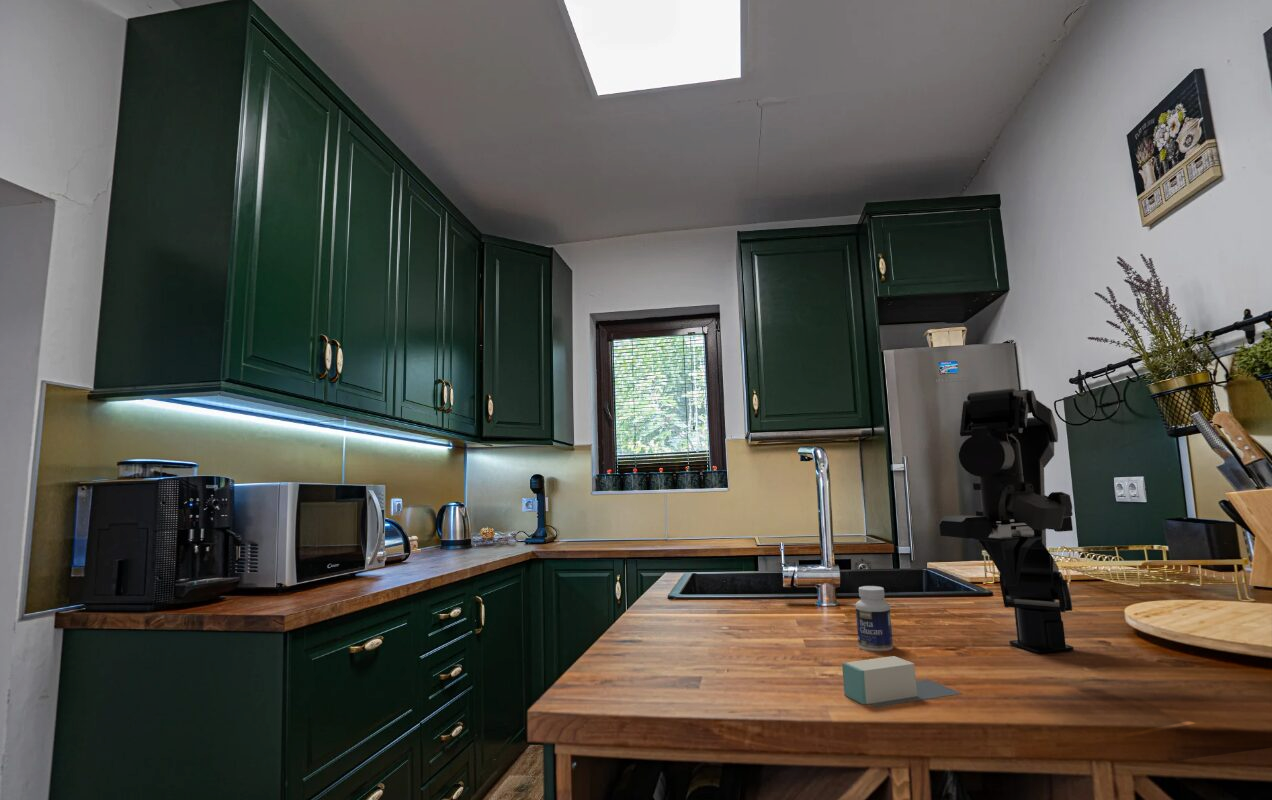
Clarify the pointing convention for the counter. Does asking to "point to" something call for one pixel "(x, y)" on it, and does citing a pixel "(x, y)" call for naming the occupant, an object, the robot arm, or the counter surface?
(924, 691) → the slate mat
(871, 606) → the pill bottle
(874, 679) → the cream block
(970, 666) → the counter surface
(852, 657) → the counter surface
